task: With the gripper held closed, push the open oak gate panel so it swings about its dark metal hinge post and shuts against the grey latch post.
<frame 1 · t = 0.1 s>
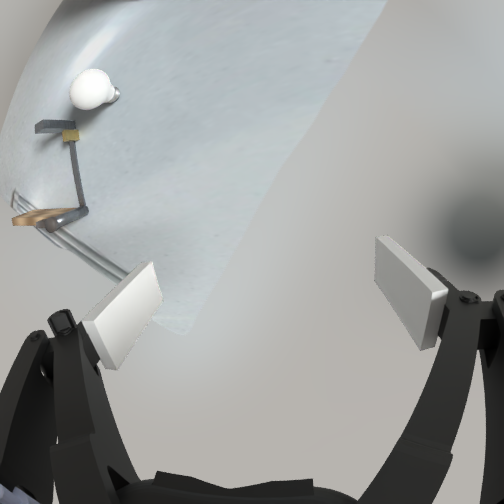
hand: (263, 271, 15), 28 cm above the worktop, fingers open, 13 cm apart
light bulb: (115, 95, 37), on the worktop
gate frame: (84, 210, 45), on the worktop
gate: (42, 218, 40), point 6 cm above the worktop, hinge at 80.0°
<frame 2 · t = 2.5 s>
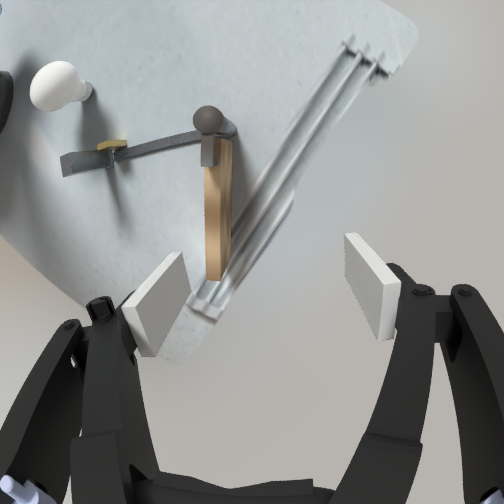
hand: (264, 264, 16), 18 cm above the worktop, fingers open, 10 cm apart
light bulb: (89, 92, 29), on the worktop
gate frame: (227, 129, 30), on the worktop
gate: (217, 195, 27), point 6 cm above the worktop, hinge at 80.0°
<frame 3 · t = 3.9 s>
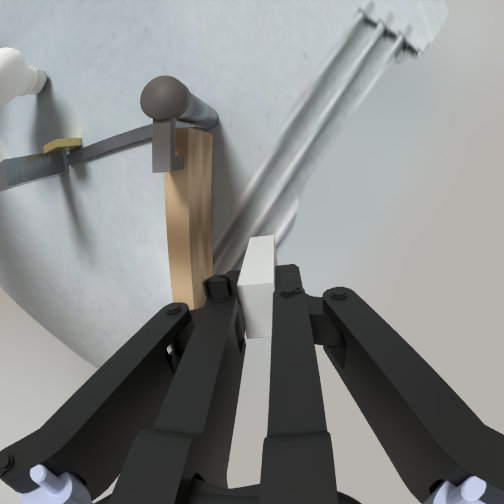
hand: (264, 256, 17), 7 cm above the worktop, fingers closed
light bulb: (44, 83, 20), on the worktop
gate frame: (206, 117, 21), on the worktop
gate: (187, 211, 19), point 6 cm above the worktop, hinge at 80.0°
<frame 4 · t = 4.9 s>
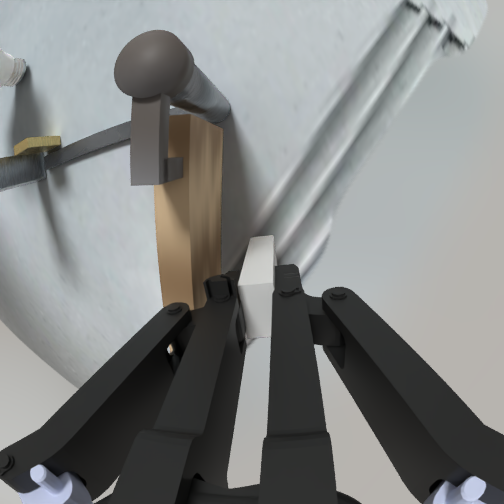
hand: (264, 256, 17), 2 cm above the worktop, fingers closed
light bulb: (24, 73, 15), on the worktop
gate frame: (215, 108, 16), on the worktop
gate: (188, 237, 13), point 6 cm above the worktop, hinge at 79.9°, touching gripper
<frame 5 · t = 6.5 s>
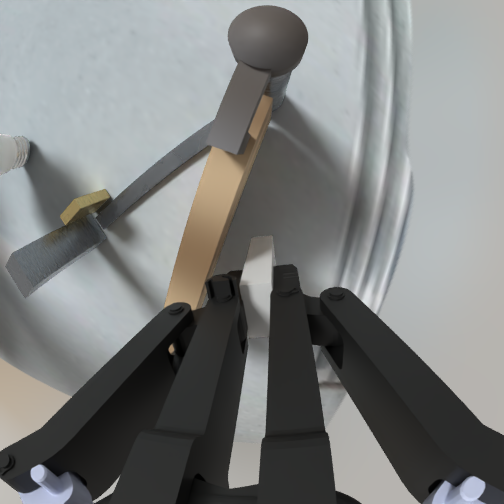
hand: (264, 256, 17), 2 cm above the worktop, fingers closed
light bulb: (28, 150, 18), on the worktop
gate frame: (267, 97, 16), on the worktop
gate: (214, 212, 13), point 6 cm above the worktop, hinge at 36.2°, touching gripper
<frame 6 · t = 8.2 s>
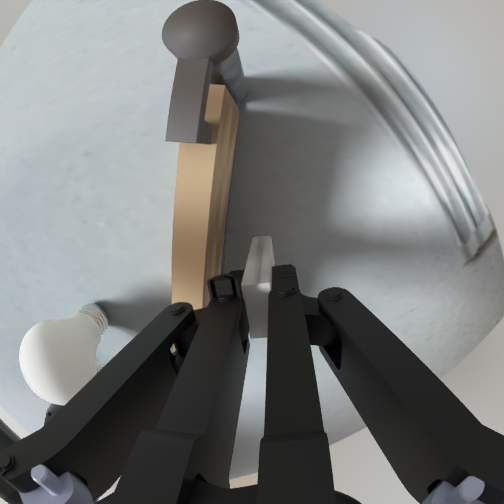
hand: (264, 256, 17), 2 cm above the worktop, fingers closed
light bulb: (100, 311, 23), on the worktop
gate frame: (232, 90, 16), on the worktop
gate: (201, 209, 13), point 6 cm above the worktop, hinge at -1.2°, touching gate frame, gripper
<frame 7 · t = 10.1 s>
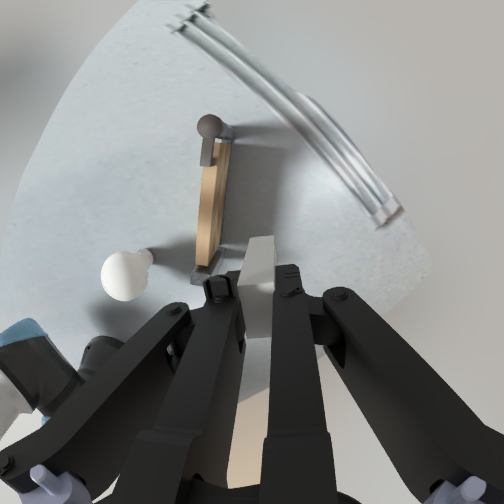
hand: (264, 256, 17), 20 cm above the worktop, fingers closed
light bulb: (148, 254, 41), on the worktop
gate frame: (227, 133, 34), on the worktop
gate: (211, 191, 31), point 6 cm above the worktop, hinge at -1.1°
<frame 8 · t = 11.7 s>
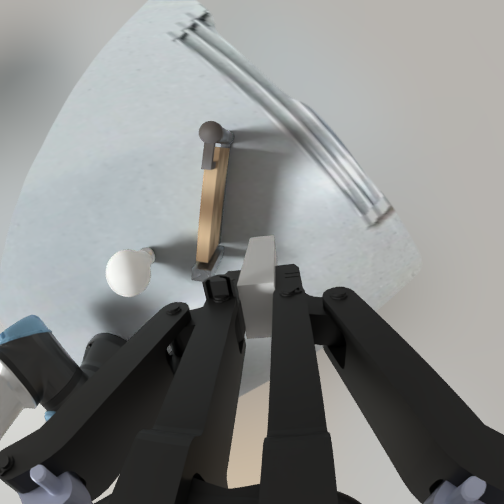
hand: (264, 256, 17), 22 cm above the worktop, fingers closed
light bulb: (150, 253, 43), on the worktop
gate frame: (226, 137, 36), on the worktop
gate: (211, 192, 33), point 6 cm above the worktop, hinge at -1.1°
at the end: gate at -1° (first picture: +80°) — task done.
